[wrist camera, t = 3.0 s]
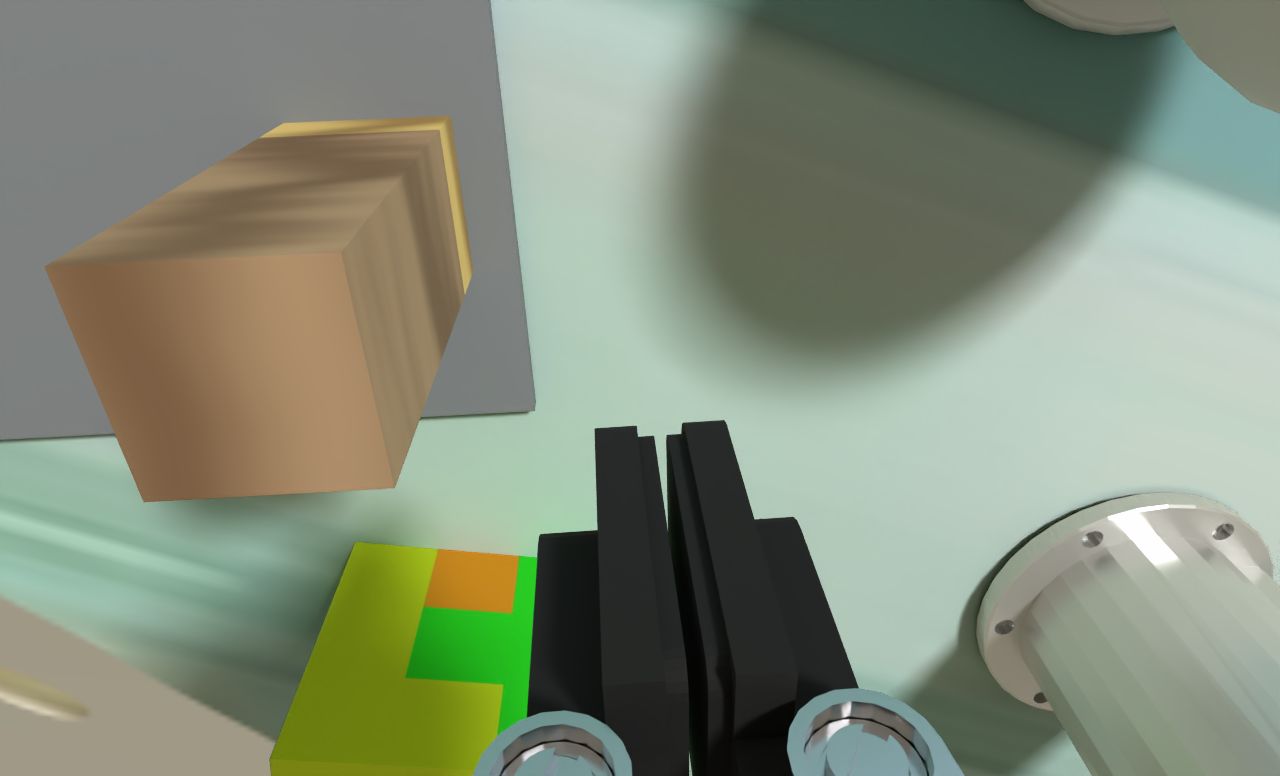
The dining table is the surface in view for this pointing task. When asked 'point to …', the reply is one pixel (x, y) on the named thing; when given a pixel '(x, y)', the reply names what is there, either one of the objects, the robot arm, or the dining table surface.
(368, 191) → the walnut block
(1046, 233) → the dining table surface
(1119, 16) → the chalice
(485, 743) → the puzzle toy
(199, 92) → the rubber mat
